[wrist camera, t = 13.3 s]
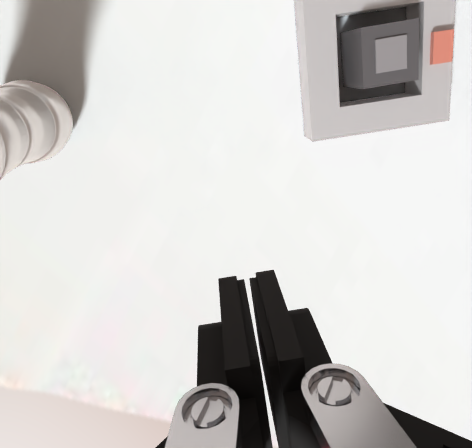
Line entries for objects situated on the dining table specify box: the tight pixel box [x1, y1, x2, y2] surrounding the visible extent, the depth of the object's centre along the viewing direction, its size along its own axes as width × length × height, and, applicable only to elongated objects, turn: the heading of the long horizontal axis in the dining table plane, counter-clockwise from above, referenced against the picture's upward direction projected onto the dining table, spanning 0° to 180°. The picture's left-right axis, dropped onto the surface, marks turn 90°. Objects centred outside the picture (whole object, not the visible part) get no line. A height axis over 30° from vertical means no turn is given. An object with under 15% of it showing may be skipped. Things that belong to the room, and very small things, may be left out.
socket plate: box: [294, 0, 456, 142], centre depth 34 cm, size 12×12×4 cm
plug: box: [340, 18, 419, 89], centre depth 33 cm, size 4×4×5 cm
